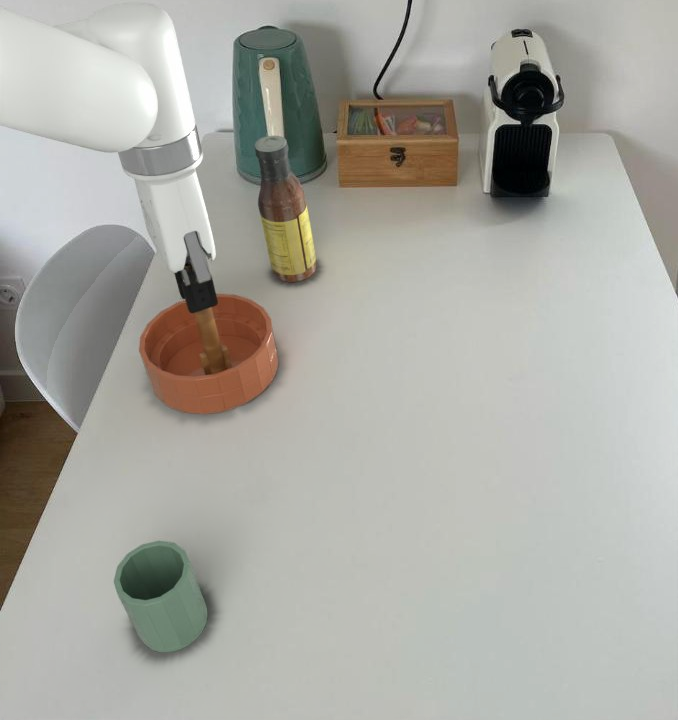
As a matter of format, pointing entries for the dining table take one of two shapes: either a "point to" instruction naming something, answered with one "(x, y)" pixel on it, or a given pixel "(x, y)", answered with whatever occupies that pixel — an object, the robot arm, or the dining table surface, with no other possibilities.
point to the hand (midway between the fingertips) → (199, 300)
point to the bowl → (183, 348)
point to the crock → (161, 596)
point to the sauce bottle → (284, 213)
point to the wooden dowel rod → (211, 343)
